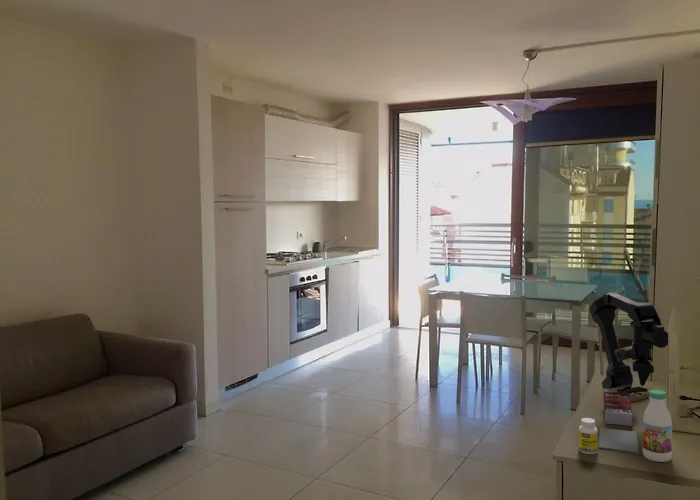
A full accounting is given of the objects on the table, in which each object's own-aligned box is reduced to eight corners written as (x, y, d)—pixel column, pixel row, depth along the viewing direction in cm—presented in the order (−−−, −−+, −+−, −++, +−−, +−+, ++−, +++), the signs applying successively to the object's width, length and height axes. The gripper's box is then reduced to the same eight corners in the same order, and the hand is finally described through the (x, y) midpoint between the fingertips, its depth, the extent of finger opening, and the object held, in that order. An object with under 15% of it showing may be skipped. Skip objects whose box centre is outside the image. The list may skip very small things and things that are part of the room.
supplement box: (605, 411, 203) (602, 388, 217) (605, 423, 204) (602, 399, 218) (633, 413, 200) (629, 389, 214) (633, 426, 201) (628, 401, 215)
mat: (600, 429, 200) (600, 427, 200) (636, 433, 195) (636, 431, 195) (598, 448, 185) (598, 446, 185) (638, 453, 181) (638, 451, 181)
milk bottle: (641, 450, 183) (642, 386, 181) (670, 453, 180) (671, 388, 178) (643, 460, 176) (643, 394, 174) (673, 464, 173) (673, 397, 171)
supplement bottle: (580, 454, 182) (579, 422, 181) (577, 446, 187) (577, 416, 186) (599, 455, 180) (599, 423, 180) (595, 447, 186) (595, 417, 185)
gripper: (616, 333, 215) (616, 375, 216) (616, 345, 198) (616, 391, 199) (651, 334, 210) (650, 378, 211) (654, 348, 193) (653, 395, 194)
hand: (642, 385), depth 204 cm, fingers closed
